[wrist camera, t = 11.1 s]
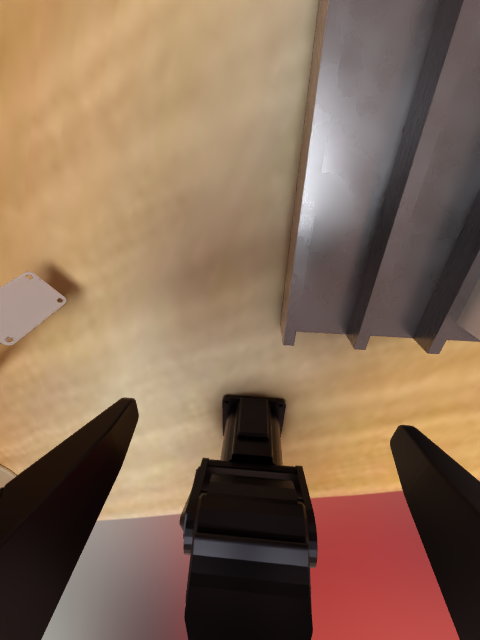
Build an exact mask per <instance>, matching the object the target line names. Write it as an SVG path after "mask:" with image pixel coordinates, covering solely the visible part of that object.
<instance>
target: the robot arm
mask: <svg viewBox="0 0 480 640" xmlns="http://www.w3.org/2000/svg"><path fill="white" fill-rule="evenodd" d="M222 407H223V436H224V440H223V447H222V454H221V460H210V459H209V458H203V459H202V462H201V466H200V467H198V469H197V470H196V474H195V479H194V483H193V487H192V490H191V493H190V495H189V497H188V500H187V502H186V505H185V507H184V509H183V512H182V514H181V517H180V526H181V527H182V529H183V531H184V534H183V536H184V537H183V538H184V554H185V555H191V558H190V566H189V574H188V583H187V591H186V608H185V623H186V629H187V634H188V640H311V637H312V632H313V627H312V614H311V586H310V568H315V567H316V563H317V532H316V524H315V517H314V513H313V508H312V504H311V500H310V496H309V492H308V488H307V484H306V480H305V476H304V472H303V468H302V466H295V467H293V466H283V463H282V450H281V432H282V426H283V420H284V414H285V408H286V403H285V401H284V400H283V399H272V398H258V397H243V396H229V395H226V396H224V397H223V401H222ZM138 417H139V414H138V409H137V404H136V400H135V399H134V398H121V399H120V400H118V401H117V402H116V403H114V404H113V405H112V406H110V407H109V408H108V409H106V410H105V411H103V412H102V413H101V414H99V415H98V416H97V417H95V418H94V419H93V420H91V421H90V422H89V423H87V424H86V425H85V426H83V427H82V428H81V429H79V430H78V431H77V432H75V433H74V434H73V435H71V436H70V437H69V438H67V439H66V440H64V441H63V442H62V443H60V444H59V445H58V446H56V447H55V448H54V449H52V450H51V451H50V452H48V453H47V454H46V455H44V456H43V457H42V458H40V459H39V460H38V461H36V462H35V463H34V464H32V465H31V466H30V467H28V468H27V469H25V470H24V471H23V472H21V473H20V474H19V475H17V476H16V477H15V478H13V479H12V480H11V481H9V482H8V483H7V484H5V486H4V487H1V488H0V640H41V639H42V637H43V635H44V632H45V630H46V628H47V626H48V624H49V622H50V620H51V617H52V615H53V613H54V611H55V609H56V607H57V605H58V602H59V600H60V598H61V596H62V594H63V592H64V590H65V587H66V585H67V583H68V581H69V579H70V577H71V574H72V572H73V570H74V568H75V566H76V564H77V561H78V559H79V557H80V555H81V553H82V551H83V549H84V546H85V544H86V542H87V540H88V538H89V536H90V534H91V532H92V529H93V527H94V525H95V523H96V521H97V519H98V517H99V514H100V512H101V510H102V508H103V506H104V504H105V501H106V499H107V497H108V495H109V493H110V491H111V489H112V486H113V484H114V482H115V480H116V478H117V476H118V474H119V471H120V469H121V467H122V464H123V462H124V459H125V456H126V453H127V450H128V448H129V445H130V442H131V439H132V436H133V433H134V430H135V428H136V425H137V422H138ZM390 447H391V450H392V454H393V458H394V461H395V465H396V468H397V472H398V475H399V479H400V482H401V486H402V489H403V492H404V495H405V498H406V501H407V504H408V506H409V509H410V512H411V514H412V517H413V519H414V522H415V525H416V527H417V530H418V532H419V535H420V538H421V540H422V543H423V545H424V548H425V551H426V553H427V556H428V558H429V561H430V563H431V566H432V569H433V571H434V574H435V576H436V579H437V582H438V584H439V587H440V589H441V592H442V595H443V597H444V600H445V602H446V605H447V607H448V610H449V612H450V615H451V618H452V620H453V623H454V626H455V628H456V631H457V633H458V636H459V639H460V640H480V481H478V480H477V479H476V478H475V477H474V476H472V475H471V474H470V473H469V472H468V471H467V470H465V469H464V468H463V467H462V466H461V465H459V464H458V463H457V462H456V461H455V460H453V459H452V458H451V457H450V456H449V455H448V454H446V453H445V452H444V451H443V450H442V449H440V448H439V447H438V446H437V445H436V444H434V443H433V442H432V441H431V440H430V439H429V438H427V437H426V436H425V435H424V434H423V433H421V432H420V431H419V430H418V429H417V428H415V427H413V426H409V425H400V426H398V428H397V429H396V431H395V433H394V434H393V436H392V438H391V440H390Z"/></svg>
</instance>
